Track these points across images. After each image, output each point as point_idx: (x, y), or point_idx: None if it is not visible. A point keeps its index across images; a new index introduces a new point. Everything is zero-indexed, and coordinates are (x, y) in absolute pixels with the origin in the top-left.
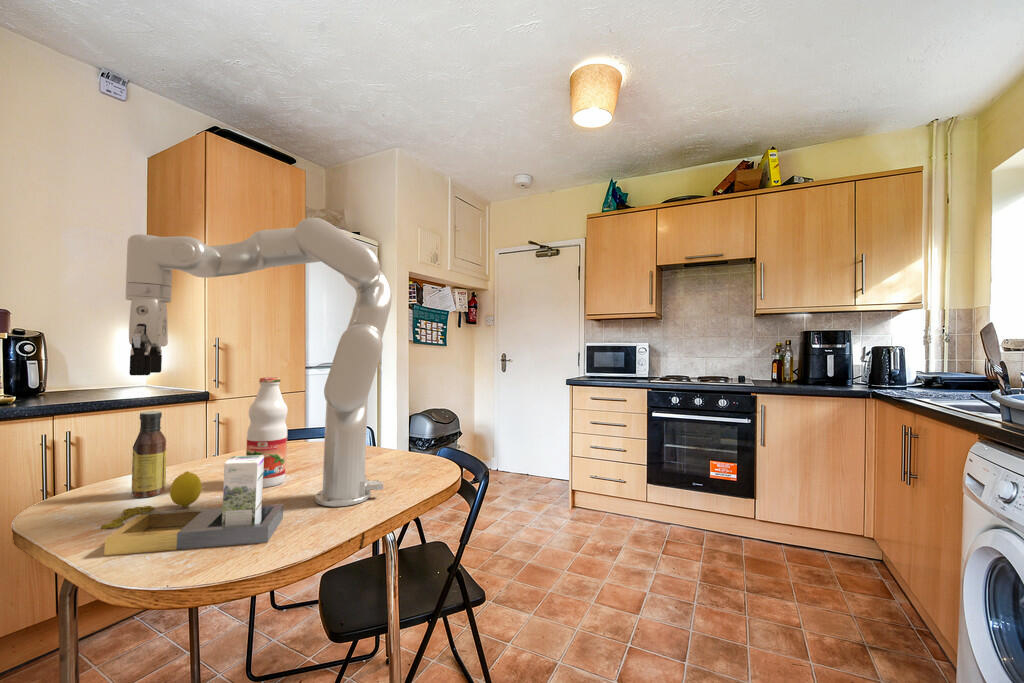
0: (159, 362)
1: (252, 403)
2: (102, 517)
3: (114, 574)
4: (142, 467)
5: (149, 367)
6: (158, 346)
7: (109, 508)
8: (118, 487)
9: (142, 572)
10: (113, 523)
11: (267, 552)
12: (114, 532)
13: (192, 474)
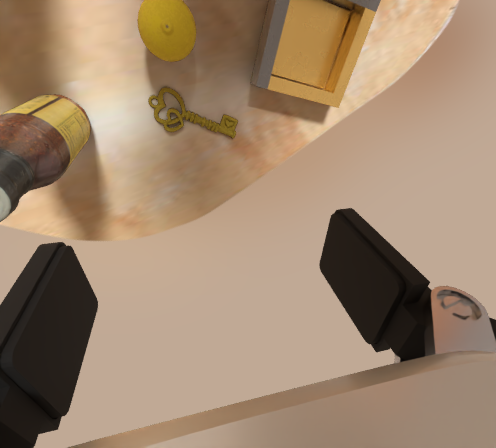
0: (40, 300)
1: None
2: (182, 152)
3: (384, 76)
4: (77, 144)
5: (374, 230)
6: (423, 357)
7: (140, 157)
8: None
9: (399, 46)
10: (226, 127)
11: None
12: (324, 102)
13: (170, 12)
